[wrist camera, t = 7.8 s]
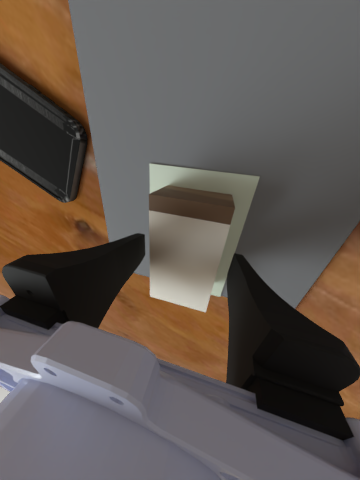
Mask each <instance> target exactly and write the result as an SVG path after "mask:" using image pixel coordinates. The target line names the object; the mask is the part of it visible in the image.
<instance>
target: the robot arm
mask: <svg viewBox="0 0 360 480" xmlns="http://www.w3.org/2000/svg"><path fill="white" fill-rule="evenodd" d="M144 256H145V234H140V233H136V234H133V235H130V236H127V237H124V238H121V239H119V240H116V241H113V242H110V243H107V244H103V245H100V246H96V247H92V248H88V249H82V250H77V251H71V252H63V253H53V254H37V255H26V256H23V257H21V258H19V259H17V260H15V261H13V262H11V263H9V264H7V265H5V266H4V267H3V270H2V273H3V276H4V278H5V280H6V281H7V283H8V284H9V286H10V287H11V289H12V290H13V292H14V293H15V295H16V296H15V297H13V298H12V299H9V298H7V297H6V296H3V295H0V387H2V388H4V389H6V390H8V391H9V392H10V393H9V394H8V395H7V396H6V397H5V399H4V400H3V401H2V402H1V403H0V480H360V420H359V419H355V418H345V416H344V414H343V412H342V410H341V408H340V406H343V405H344V402H343V400H342V398H341V396H340V394H339V391H341V390H342V389H344V388H346V387H347V386H349V385H351V384H353V383H354V382H355V381H356V380H358V378H359V376H360V367H359V365H358V363H357V362H356V360H355V359H354V357H353V356H352V354H351V353H350V351H349V350H348V348H347V347H346V345H345V344H344V342H343V341H342V340H340V339H338V338H337V337H335V336H334V335H332V334H331V333H329V332H327V331H326V330H324V329H323V328H321V327H320V326H318V325H316V324H315V323H314V322H312V321H311V320H309V319H308V318H307V317H305V316H304V315H302V314H301V313H300V312H298V311H297V310H296V309H294V308H293V307H292V306H291V305H289V304H288V303H287V302H286V301H284V300H283V299H282V298H281V297H280V296H279V295H278V294H276V293H275V292H274V291H273V290H272V289H271V288H270V287H269V286H268V285H267V284H266V283H265V282H264V281H263V279H262V278H261V277H260V276H259V275H258V274H257V273H256V271H255V270H254V269H253V268H252V266H251V265H250V264H249V262H248V261H247V260H246V258H245V257H244V256H243V255H241V254H236V253H234V255H233V258H232V261H231V264H230V267H229V270H228V273H227V296H228V308H229V345H228V365H227V380H226V383H224V382H222V381H219V380H216V379H213V378H210V377H208V376H205V375H202V374H199V373H197V372H194V371H191V370H188V369H185V368H183V367H180V366H177V365H174V364H171V363H169V362H166V361H163V360H160V359H158V358H156V356H155V354H153V353H152V352H151V351H150V350H149V349H148V348H147V347H145V346H143V345H141V344H139V343H137V342H135V341H132V340H129V339H126V338H123V337H120V336H118V335H115V334H112V333H109V332H106V331H103V330H100V329H98V327H99V325H100V323H101V322H102V320H103V318H104V316H105V314H106V313H107V311H108V309H109V307H110V306H111V304H112V302H113V301H114V299H115V297H116V296H117V294H118V293H119V291H120V289H121V288H122V287H123V285H124V284H125V283H126V281H127V280H128V279H129V277H130V276H131V275H132V274H133V272H134V271H135V270H136V269H137V267H138V266H139V265H140V263H141V262H142V260H143V258H144Z"/></svg>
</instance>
